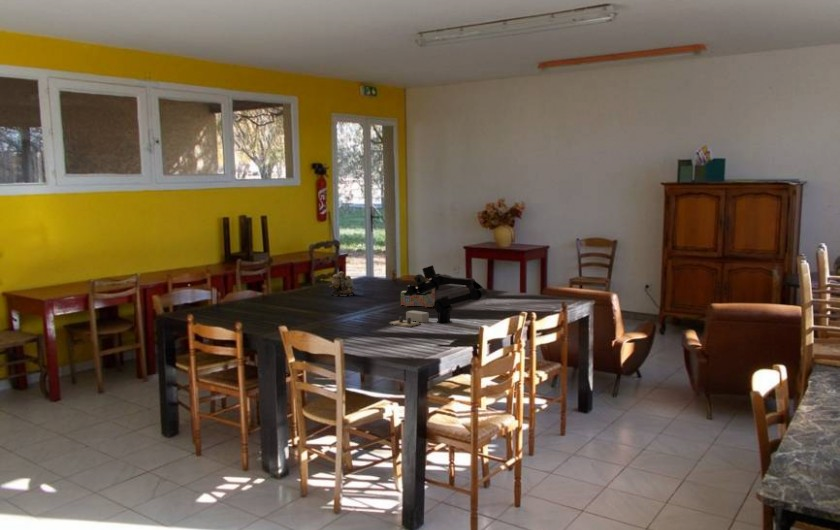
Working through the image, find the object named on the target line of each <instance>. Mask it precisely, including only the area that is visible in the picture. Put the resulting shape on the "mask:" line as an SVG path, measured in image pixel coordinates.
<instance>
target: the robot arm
mask: <svg viewBox="0 0 840 530" xmlns="http://www.w3.org/2000/svg"><path fill="white" fill-rule="evenodd" d="M422 272H423V275H422V274H416V275H414V276H413V280H414V281H415V282H416V285H415V284H409V285H407V290H405V291H406V292H405V293H404V296H414V295H430V294H431V293H432V290H433V289H435V291H437V292H438V291H441V288H442V286H446V285H455V286H466V287H467V289H468V291H469V292H468V293H465V294H461V295H458V296H454V297H449V295H447V296H442V297H441V296H440V297H438V298H437V299H435V303H434V308H435V311H436V313H437V321H436V323H438V322H439V324H444V323H446V324H449V322H450V323H452V320H451V312H452V310H453V307H452V305H456V304H458V303H461V302H466V301H478V300H482V299H486V297H487V296H488V292H487V290H486V289H485V288H484V287H483V286H482V285H481V284H480V283H479V282H477V281H476V280H475V278H472V277H470V278H469V277H468V278H467V277H453V276H451V275H449V274H441V273H436V270H435V269H434V265H429V266H427V267H426V266H425V267H423V268H422ZM426 279H427V280H426ZM416 287H418V289H416Z"/></svg>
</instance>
